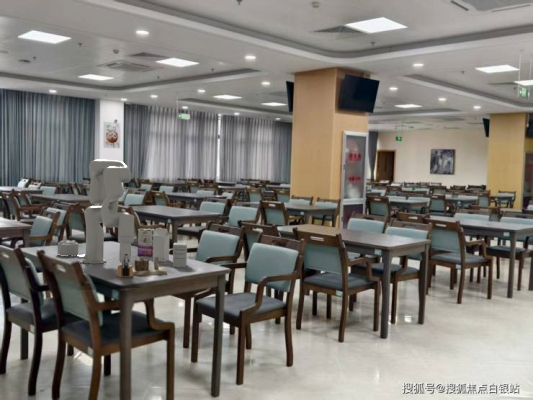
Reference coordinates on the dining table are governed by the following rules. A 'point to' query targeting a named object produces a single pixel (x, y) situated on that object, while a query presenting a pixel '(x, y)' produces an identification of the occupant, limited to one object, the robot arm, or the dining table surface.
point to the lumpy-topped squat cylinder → (68, 247)
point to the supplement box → (179, 254)
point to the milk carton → (161, 244)
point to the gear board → (144, 268)
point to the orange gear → (121, 271)
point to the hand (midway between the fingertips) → (125, 274)
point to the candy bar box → (145, 242)
